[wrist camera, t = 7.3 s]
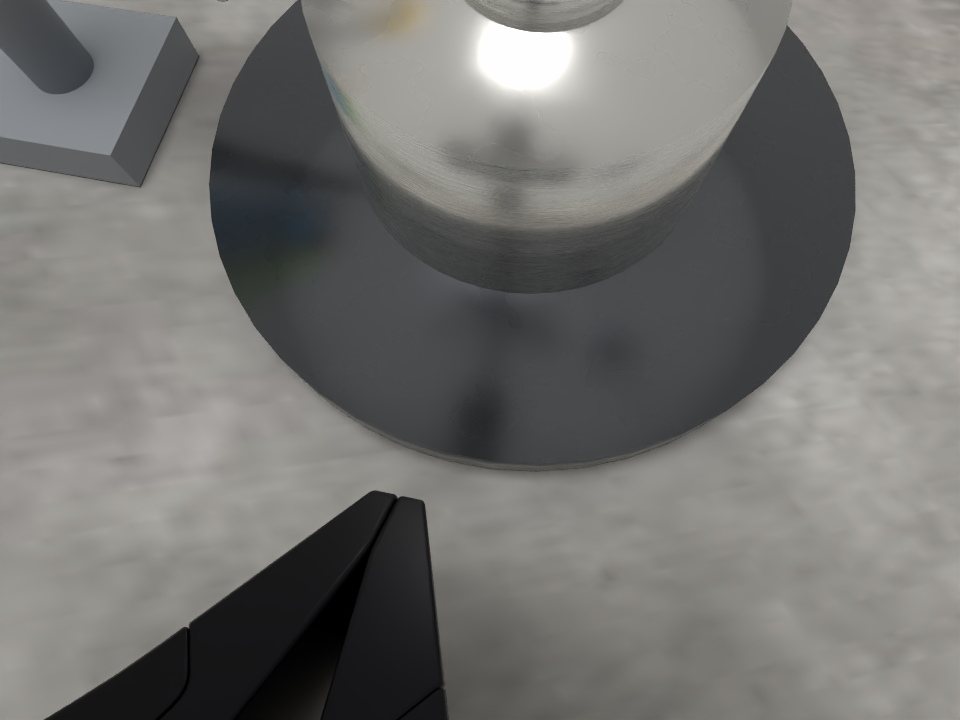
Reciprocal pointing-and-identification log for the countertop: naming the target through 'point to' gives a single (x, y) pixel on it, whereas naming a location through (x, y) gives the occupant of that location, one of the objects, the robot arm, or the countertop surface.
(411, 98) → the cover
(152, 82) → the gauge stand
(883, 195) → the countertop surface
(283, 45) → the turntable
